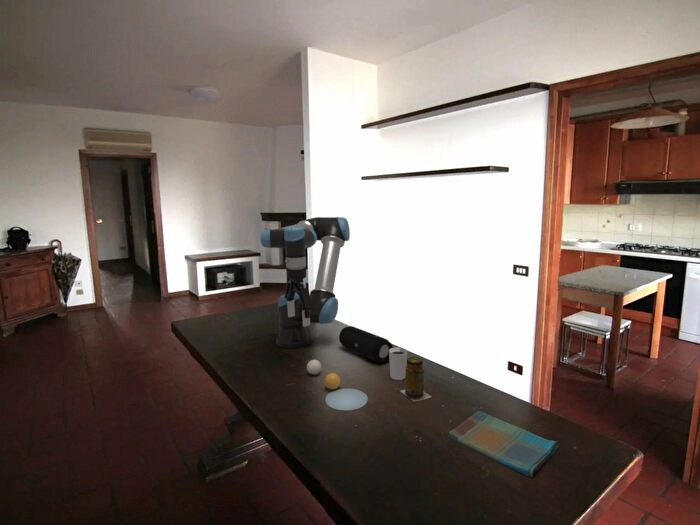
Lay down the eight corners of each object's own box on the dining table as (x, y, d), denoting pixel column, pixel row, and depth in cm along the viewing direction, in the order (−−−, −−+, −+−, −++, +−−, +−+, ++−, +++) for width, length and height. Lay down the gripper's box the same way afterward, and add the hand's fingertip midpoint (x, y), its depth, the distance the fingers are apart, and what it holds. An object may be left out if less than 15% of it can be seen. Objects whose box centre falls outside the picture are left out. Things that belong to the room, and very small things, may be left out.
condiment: (417, 386, 138) (417, 354, 136) (432, 397, 130) (432, 363, 128) (399, 391, 134) (399, 358, 132) (413, 402, 127) (414, 367, 125)
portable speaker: (337, 349, 173) (337, 327, 172) (354, 343, 179) (354, 322, 178) (377, 367, 154) (377, 343, 152) (394, 360, 160) (394, 337, 158)
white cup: (409, 374, 147) (409, 348, 145) (403, 381, 141) (404, 355, 140) (392, 371, 150) (392, 346, 148) (386, 378, 144) (386, 352, 142)
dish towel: (532, 482, 92) (532, 472, 91) (446, 439, 109) (446, 430, 108) (559, 449, 103) (560, 440, 103) (477, 415, 120) (478, 407, 120)
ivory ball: (312, 369, 153) (311, 356, 152) (324, 372, 150) (323, 358, 149) (304, 375, 148) (303, 361, 147) (316, 378, 145) (316, 364, 144)
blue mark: (338, 385, 139) (338, 385, 139) (374, 394, 133) (374, 393, 133) (317, 404, 127) (317, 403, 127) (356, 414, 120) (355, 414, 120)
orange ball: (330, 383, 141) (329, 369, 140) (343, 386, 138) (343, 372, 137) (322, 390, 136) (321, 375, 135) (335, 393, 134) (335, 378, 133)
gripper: (274, 264, 157) (277, 314, 161) (301, 274, 137) (304, 332, 140) (291, 261, 161) (294, 311, 165) (320, 271, 141) (322, 327, 144)
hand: (298, 321), depth 153 cm, fingers open, 13 cm apart
